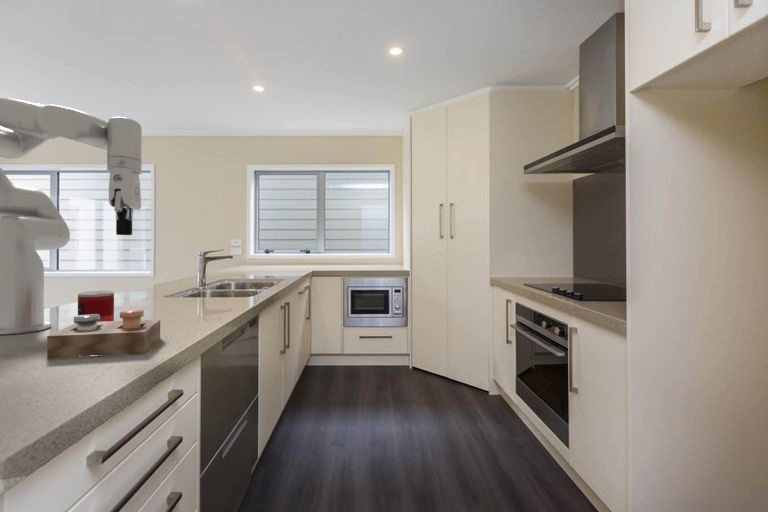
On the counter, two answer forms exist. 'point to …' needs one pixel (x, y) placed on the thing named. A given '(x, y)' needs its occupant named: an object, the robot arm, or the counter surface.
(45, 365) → the counter surface
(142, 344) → the socket block
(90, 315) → the grey plug
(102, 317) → the canned food
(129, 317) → the terracotta plug
